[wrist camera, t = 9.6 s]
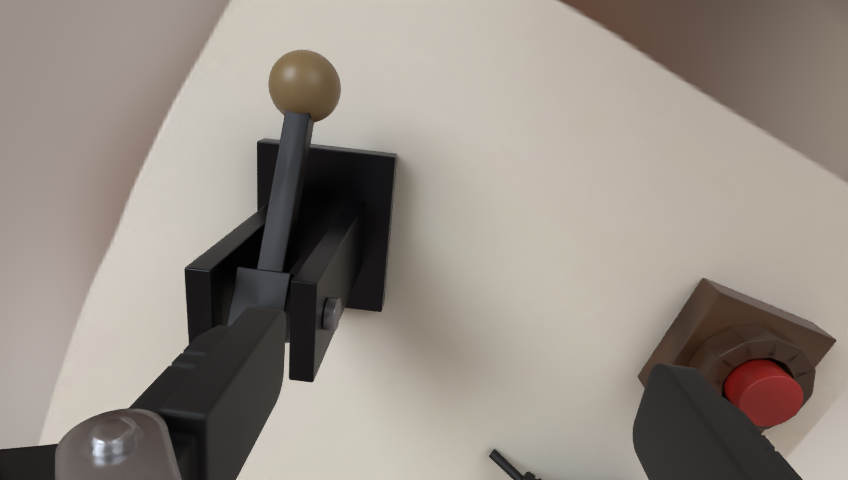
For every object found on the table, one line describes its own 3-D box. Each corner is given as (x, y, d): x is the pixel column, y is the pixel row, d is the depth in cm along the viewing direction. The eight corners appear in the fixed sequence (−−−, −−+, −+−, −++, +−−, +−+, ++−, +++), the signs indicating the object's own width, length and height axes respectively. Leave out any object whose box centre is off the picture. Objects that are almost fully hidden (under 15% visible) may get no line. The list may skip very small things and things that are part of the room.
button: (745, 350, 29) (763, 367, 27) (796, 370, 29) (817, 389, 27) (712, 395, 30) (727, 414, 28) (761, 414, 30) (779, 434, 29)
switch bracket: (263, 138, 30) (136, 190, 18) (397, 153, 30) (362, 216, 17) (263, 289, 33) (157, 420, 21) (383, 304, 33) (346, 443, 21)
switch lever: (285, 69, 25) (266, 31, 22) (349, 76, 25) (339, 39, 21) (236, 335, 22) (206, 335, 19) (307, 343, 22) (289, 345, 19)
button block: (702, 277, 31) (737, 306, 27) (812, 322, 32) (861, 357, 28) (637, 376, 34) (660, 415, 30) (739, 416, 35) (775, 459, 31)
